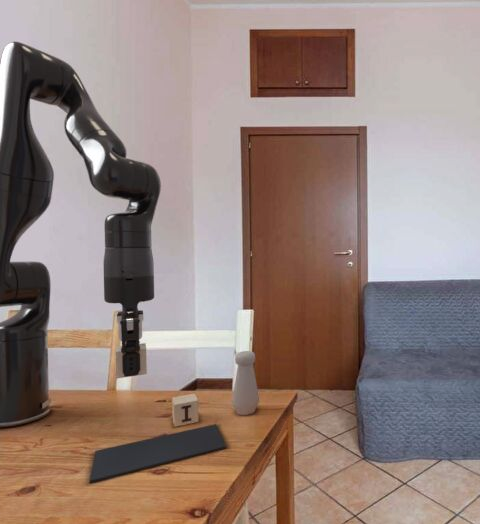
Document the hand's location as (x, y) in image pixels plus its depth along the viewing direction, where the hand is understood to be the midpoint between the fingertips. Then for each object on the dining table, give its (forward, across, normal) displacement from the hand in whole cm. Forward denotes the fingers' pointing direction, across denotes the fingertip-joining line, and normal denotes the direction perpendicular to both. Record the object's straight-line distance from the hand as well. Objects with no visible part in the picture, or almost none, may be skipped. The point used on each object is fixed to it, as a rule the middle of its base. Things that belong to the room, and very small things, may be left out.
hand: (131, 370), depth 65 cm
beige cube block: (+14, -8, +9) cm, 19 cm away
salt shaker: (+14, -6, +21) cm, 26 cm away
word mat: (+14, +2, +4) cm, 15 cm away
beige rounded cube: (0, 0, 0) cm, 0 cm away
